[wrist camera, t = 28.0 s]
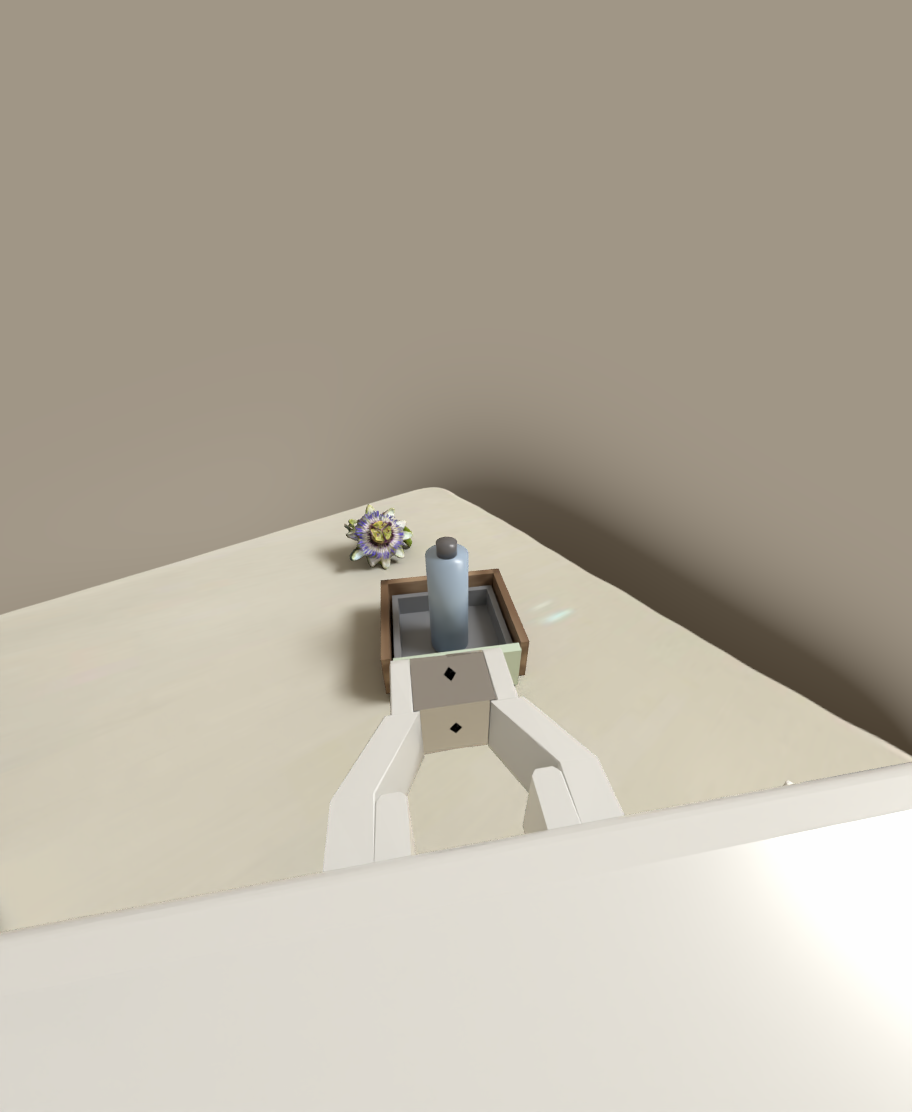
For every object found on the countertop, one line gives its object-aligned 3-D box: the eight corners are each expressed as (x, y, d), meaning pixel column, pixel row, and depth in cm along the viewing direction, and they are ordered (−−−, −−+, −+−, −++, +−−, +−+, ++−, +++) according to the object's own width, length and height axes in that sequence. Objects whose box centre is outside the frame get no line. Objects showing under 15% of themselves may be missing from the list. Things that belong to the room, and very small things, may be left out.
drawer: (398, 701, 47) (393, 666, 44) (394, 616, 59) (390, 584, 56) (517, 684, 49) (521, 650, 45) (490, 605, 61) (491, 573, 58)
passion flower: (389, 590, 73) (350, 565, 63) (361, 556, 79) (323, 528, 69) (432, 547, 74) (401, 516, 64) (402, 516, 80) (369, 483, 70)
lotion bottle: (434, 657, 51) (427, 556, 43) (429, 630, 55) (421, 533, 47) (472, 651, 52) (472, 551, 43) (464, 625, 56) (463, 529, 47)
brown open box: (386, 693, 48) (380, 659, 45) (385, 611, 60) (380, 580, 57) (524, 674, 50) (529, 641, 47) (496, 599, 63) (498, 568, 59)
